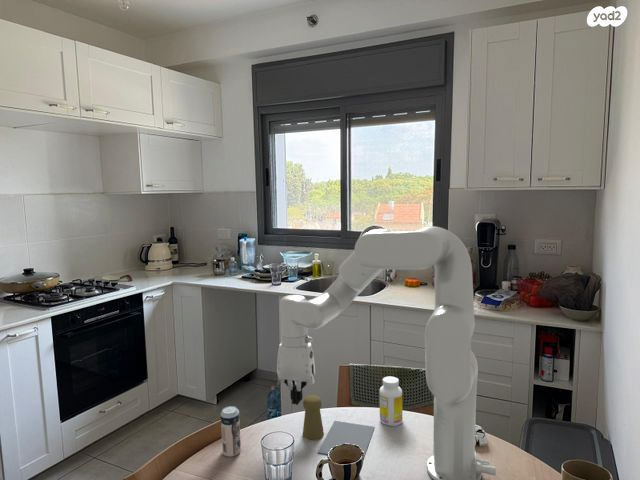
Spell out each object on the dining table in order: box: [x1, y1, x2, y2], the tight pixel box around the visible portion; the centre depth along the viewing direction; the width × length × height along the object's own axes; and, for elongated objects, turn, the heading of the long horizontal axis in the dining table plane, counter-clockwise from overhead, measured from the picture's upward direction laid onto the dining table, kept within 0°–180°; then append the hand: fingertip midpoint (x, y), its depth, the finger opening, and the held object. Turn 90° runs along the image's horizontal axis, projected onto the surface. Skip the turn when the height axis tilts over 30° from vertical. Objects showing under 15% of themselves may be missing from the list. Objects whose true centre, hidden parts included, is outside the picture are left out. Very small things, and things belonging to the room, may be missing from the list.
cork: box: [302, 394, 325, 441], centre depth 121 cm, size 6×6×11 cm
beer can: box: [220, 405, 242, 458], centre depth 113 cm, size 5×5×12 cm
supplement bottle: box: [378, 375, 403, 427], centre depth 127 cm, size 7×7×13 cm
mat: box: [317, 420, 376, 457], centre depth 118 cm, size 12×16×1 cm
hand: (296, 402), depth 122 cm, fingers closed
